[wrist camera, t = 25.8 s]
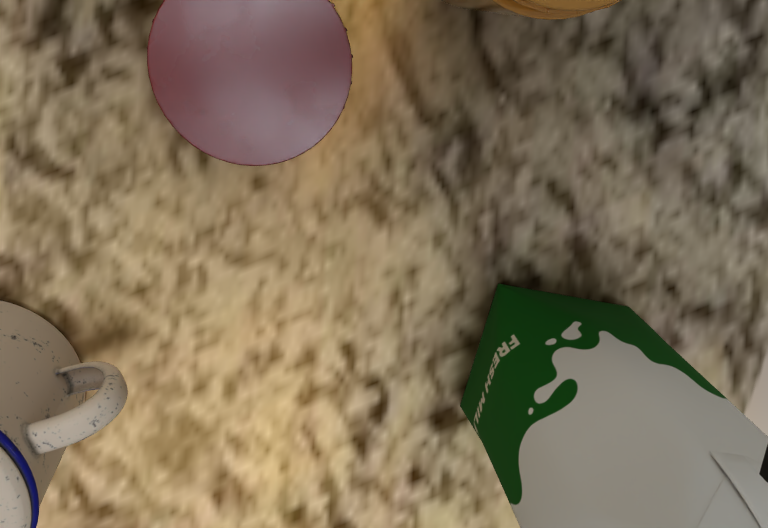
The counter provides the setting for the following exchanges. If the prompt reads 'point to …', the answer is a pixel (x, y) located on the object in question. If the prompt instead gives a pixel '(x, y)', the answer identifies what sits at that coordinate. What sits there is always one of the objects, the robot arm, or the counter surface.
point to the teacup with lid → (44, 408)
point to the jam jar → (535, 7)
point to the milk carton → (607, 422)
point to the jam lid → (250, 75)
